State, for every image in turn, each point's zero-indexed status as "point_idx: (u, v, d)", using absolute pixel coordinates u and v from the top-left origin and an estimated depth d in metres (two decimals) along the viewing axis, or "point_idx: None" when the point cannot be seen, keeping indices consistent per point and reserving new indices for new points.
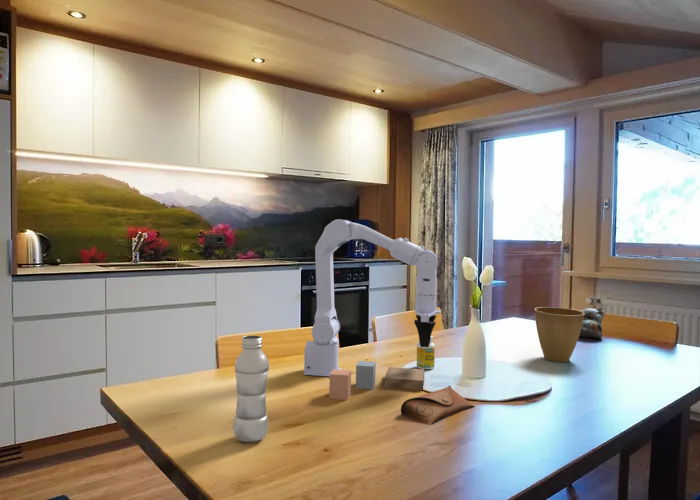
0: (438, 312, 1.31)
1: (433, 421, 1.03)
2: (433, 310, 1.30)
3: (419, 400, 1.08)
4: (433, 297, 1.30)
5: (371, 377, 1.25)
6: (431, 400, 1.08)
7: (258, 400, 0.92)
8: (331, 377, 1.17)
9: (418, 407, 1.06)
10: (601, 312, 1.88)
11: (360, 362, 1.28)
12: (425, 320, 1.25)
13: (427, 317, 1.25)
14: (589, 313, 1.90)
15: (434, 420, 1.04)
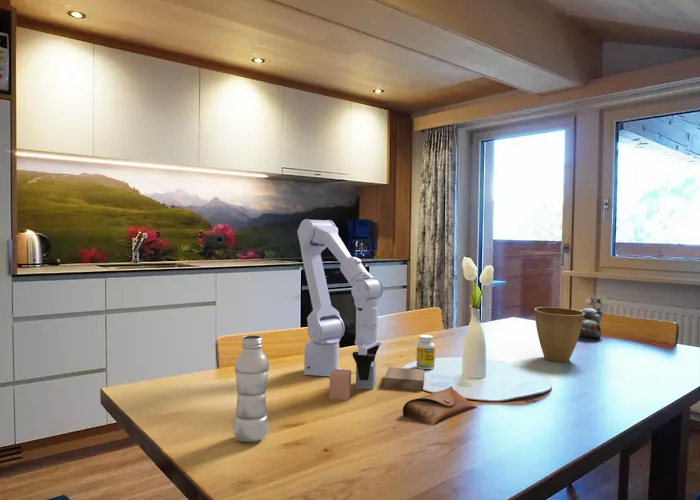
0: (379, 343, 1.25)
1: (435, 422, 1.03)
2: (373, 341, 1.24)
3: (421, 401, 1.08)
4: (373, 328, 1.24)
5: (371, 377, 1.25)
6: (433, 401, 1.08)
7: (258, 400, 0.92)
8: (331, 377, 1.17)
9: (420, 408, 1.06)
10: (600, 312, 1.88)
11: None
12: (362, 353, 1.20)
13: (364, 350, 1.20)
14: (588, 313, 1.90)
15: (436, 421, 1.03)
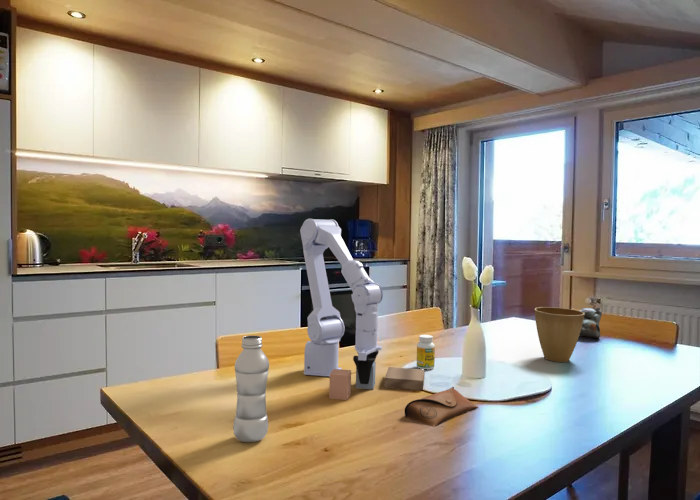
0: (378, 348, 1.25)
1: (437, 423, 1.02)
2: (373, 346, 1.25)
3: (423, 402, 1.07)
4: (373, 333, 1.24)
5: (371, 377, 1.25)
6: (435, 402, 1.08)
7: (258, 400, 0.92)
8: (331, 377, 1.17)
9: (422, 409, 1.05)
10: (599, 312, 1.88)
11: None
12: (362, 358, 1.20)
13: (364, 355, 1.20)
14: (587, 313, 1.90)
15: (438, 422, 1.03)
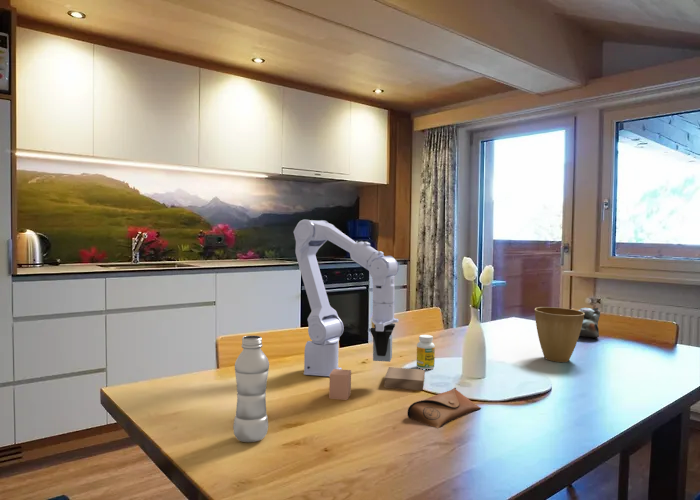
0: (395, 321, 1.26)
1: (441, 424, 1.02)
2: (390, 319, 1.25)
3: (426, 403, 1.07)
4: (390, 305, 1.25)
5: (388, 349, 1.25)
6: (438, 403, 1.07)
7: (258, 400, 0.92)
8: (331, 377, 1.17)
9: (426, 410, 1.05)
10: (597, 312, 1.89)
11: None
12: (380, 329, 1.21)
13: (382, 326, 1.20)
14: (586, 313, 1.90)
15: (442, 423, 1.02)
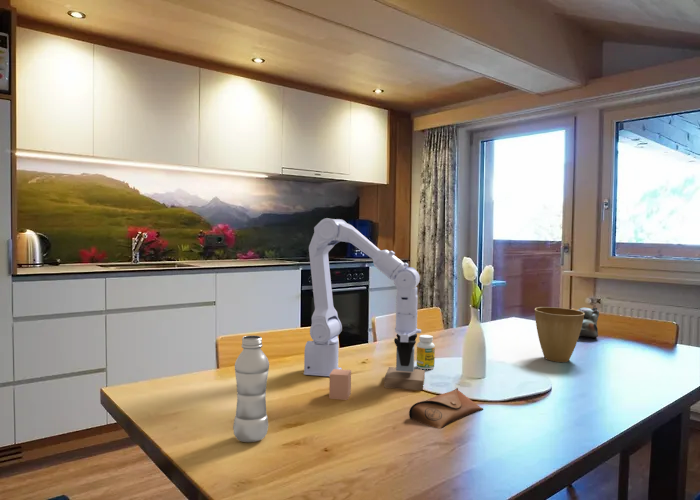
0: (418, 331, 1.28)
1: (443, 425, 1.01)
2: (413, 329, 1.28)
3: (427, 403, 1.06)
4: (413, 316, 1.27)
5: (411, 359, 1.28)
6: (440, 403, 1.07)
7: (258, 400, 0.92)
8: (331, 377, 1.17)
9: (427, 411, 1.04)
10: (596, 311, 1.89)
11: None
12: (404, 340, 1.23)
13: (406, 337, 1.23)
14: (585, 313, 1.90)
15: (443, 424, 1.02)
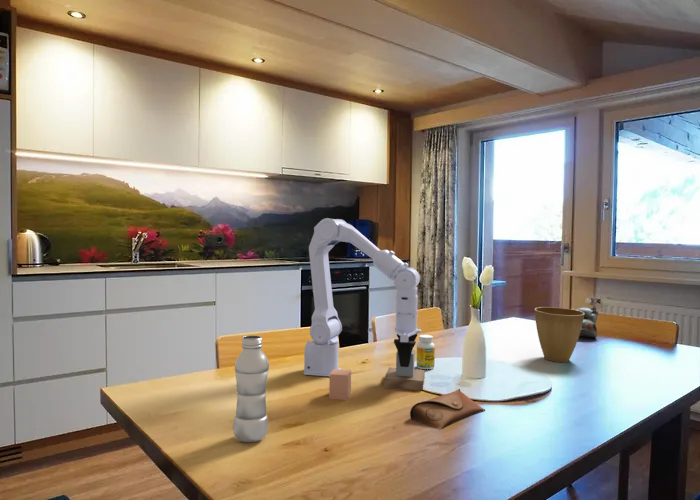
0: (418, 331, 1.28)
1: (443, 425, 1.01)
2: (413, 329, 1.28)
3: (429, 404, 1.06)
4: (413, 316, 1.27)
5: (411, 364, 1.28)
6: (441, 404, 1.06)
7: (258, 400, 0.92)
8: (331, 377, 1.17)
9: (428, 411, 1.04)
10: (595, 311, 1.89)
11: None
12: (404, 340, 1.23)
13: (406, 337, 1.23)
14: None
15: (444, 424, 1.01)
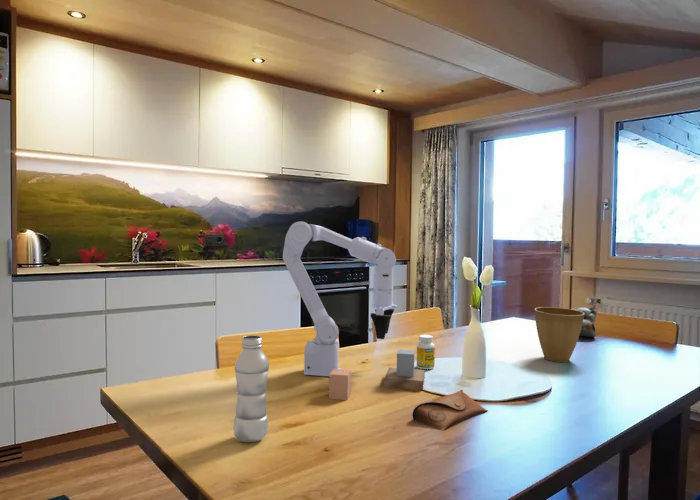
0: (394, 306, 1.38)
1: (446, 427, 1.00)
2: (389, 304, 1.38)
3: (431, 405, 1.06)
4: (389, 292, 1.38)
5: (412, 365, 1.28)
6: (444, 405, 1.06)
7: (258, 400, 0.92)
8: (331, 377, 1.17)
9: (431, 412, 1.03)
10: (594, 311, 1.90)
11: (400, 350, 1.31)
12: (380, 313, 1.33)
13: (381, 310, 1.33)
14: None
15: (447, 426, 1.01)
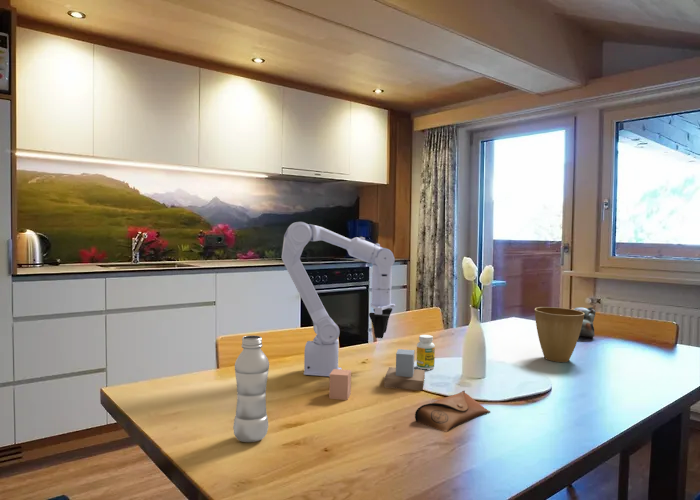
0: (392, 305, 1.39)
1: (449, 428, 1.00)
2: (387, 303, 1.39)
3: (434, 406, 1.05)
4: (387, 291, 1.38)
5: (411, 365, 1.27)
6: (446, 406, 1.05)
7: (258, 400, 0.92)
8: (331, 377, 1.17)
9: (433, 413, 1.03)
10: (593, 311, 1.90)
11: (399, 350, 1.31)
12: (378, 313, 1.34)
13: (380, 310, 1.34)
14: None
15: (450, 427, 1.00)
